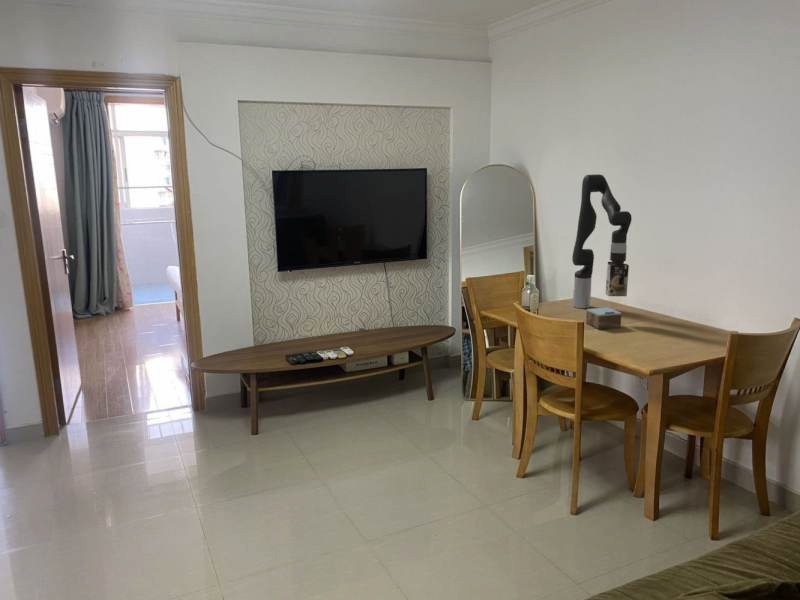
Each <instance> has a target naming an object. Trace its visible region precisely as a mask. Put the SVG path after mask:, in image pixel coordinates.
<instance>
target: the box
mask: <svg viewBox="0 0 800 600" xmlns="http://www.w3.org/2000/svg"><path fill="white" fill-rule="evenodd" d="M585 325H587V326H589V325H590V327H591V326H592V327H591V328H593V327H594V329H596V330H598V331H600V330H604V331H605V330H614V329H621V327H622V314H621V315H608V316H598V315H595V314H593V313H591V312H589V311H587V310H586V318H585Z"/></svg>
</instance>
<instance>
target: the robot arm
mask: <svg viewBox="0 0 800 600" xmlns="http://www.w3.org/2000/svg"><path fill="white" fill-rule="evenodd" d="M581 184H582V185H581V197H580V198H581V199H580V202H581V203H580V210H579V216H578V220H577V221H578V222H577V231H576V238H575V242H574V243H575V244H574V247H573V251H572V256H571V257H572V258H571V259H572V264H573V265H574V266H579V267H580V266H583V267H582V268H581V269H579V270H577V271H575V272H574V284H573V294H572V295H573V296H572V297H573V298H572V299H573V301H572V306H573V307H574V308H576V309H591V308H590V307H591V296H592V295H591V294H592V278H593V277H592V276H593V269H594V261H595V260H594V259H595V254H594V251H593V249H591V248H584V245H585V243H586V241H587V240H588V239H589V237H590V236H591V235H592V233H593V232H594V231H595V229H596V225H597V213H596V210H595V208H594V207H593V204H592V202H591V195H592V194H591V193H600V194H601V195H602V197H601V199H600V200H601V201H600V203H601V206H602V208H603V210H605V213H607V218H608V221H609V224H610V225H612V226H614V227H619V226H620V227H619V228H618V229H616V230H613V231H612V233H611V245H610V255H609V260H610V261H608V262H607V264H608V263H612V264H616V265H619V269H621V267H622V271H619V269H618V274H619V277H620V278H619V285H624V277H627V275H628V276H629V271H628V265H629V264H627V265H624V264H625V263H624V262H626V260H627V251H628V250H627V248H628V246H627V241H628V240H627V239H628V238H627V237H628V232H629V230H630V226H631V223H632V214H631V213H630V212H629V211H627V210H624V211H621V205H620V204H619V202H618V201H617V199H616V198H615V196H614V195H613V193H612V190H611V188H610V186H609V183H608V181H607V179H606V177H605V176H604V174H586V175H584V177H583V179H582V183H581ZM624 272H625V274H624ZM621 273H622V275H621Z"/></svg>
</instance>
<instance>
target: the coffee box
mask: <svg viewBox="0 0 800 600" xmlns="http://www.w3.org/2000/svg"><path fill="white" fill-rule="evenodd" d="M624 265H628V272H629V271H630V270H629V267H630V265H629V264H627V263H624ZM618 269H619V265H616V264H612V263H608V262H607V268H606V281H605V295H606V296H608V297H627V295H628V280H629V274H628V275H627V277H624V285H619V278H620V277H619V274H618ZM619 271H622V267H621V269H619ZM624 274H625V272H624ZM621 275H622V273H621Z"/></svg>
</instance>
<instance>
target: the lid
mask: <svg viewBox="0 0 800 600" xmlns="http://www.w3.org/2000/svg"><path fill="white" fill-rule="evenodd" d="M587 311H589V312H591V313H593V314H595V315H598V316H608V315H621V316H622V312H621V311H618V310H615V309H613V308H610V307H599V308H595V307H594V308H586V312H587Z"/></svg>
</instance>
